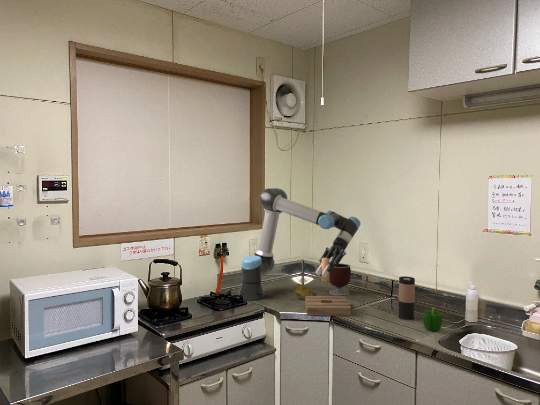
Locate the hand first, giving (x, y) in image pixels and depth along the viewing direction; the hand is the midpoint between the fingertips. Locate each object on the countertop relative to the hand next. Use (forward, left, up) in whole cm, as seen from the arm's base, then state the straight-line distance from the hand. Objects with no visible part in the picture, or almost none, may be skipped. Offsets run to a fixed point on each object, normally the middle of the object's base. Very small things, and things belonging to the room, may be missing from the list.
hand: (320, 274), depth 218 cm
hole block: (-3, +4, -19) cm, 19 cm away
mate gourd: (-37, +14, -19) cm, 44 cm away
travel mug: (+10, +42, -19) cm, 47 cm away
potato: (-22, -7, -19) cm, 30 cm away
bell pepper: (+27, +49, -19) cm, 59 cm away
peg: (-2, +3, -4) cm, 5 cm away
